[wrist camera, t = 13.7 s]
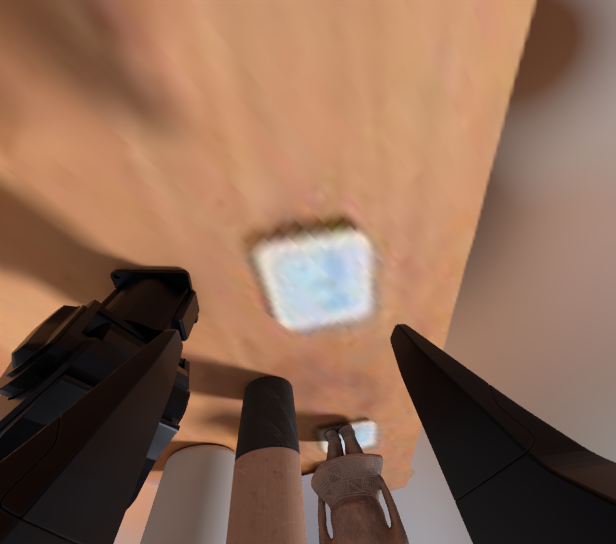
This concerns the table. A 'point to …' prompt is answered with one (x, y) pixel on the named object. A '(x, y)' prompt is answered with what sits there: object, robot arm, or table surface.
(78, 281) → the table surface
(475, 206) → the table surface
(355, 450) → the clay figurine
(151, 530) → the cylinder vase
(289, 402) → the travel mug
